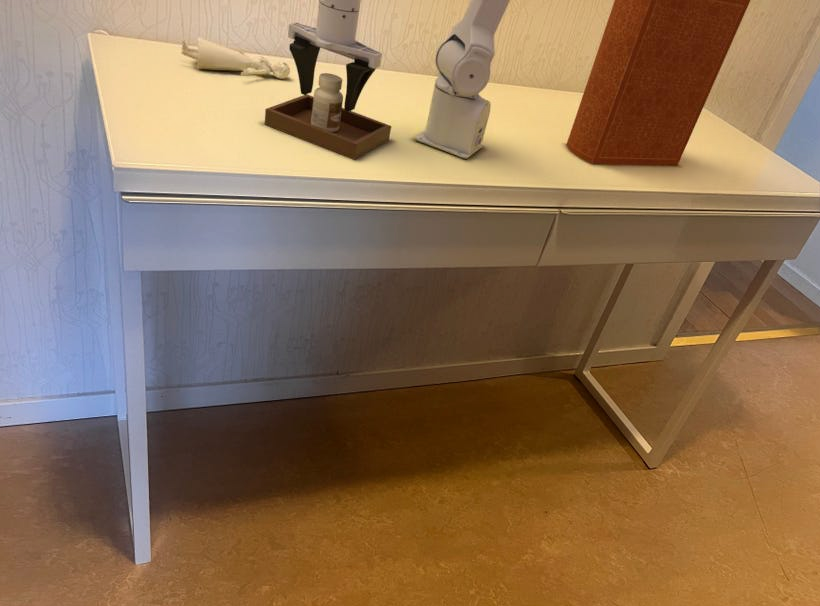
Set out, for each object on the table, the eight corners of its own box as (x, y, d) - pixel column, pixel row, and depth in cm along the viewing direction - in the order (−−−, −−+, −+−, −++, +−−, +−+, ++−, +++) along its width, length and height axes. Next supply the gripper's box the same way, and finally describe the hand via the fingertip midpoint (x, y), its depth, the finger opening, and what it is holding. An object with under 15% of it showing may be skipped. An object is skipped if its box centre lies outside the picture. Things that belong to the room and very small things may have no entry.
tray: (389, 140, 111) (391, 125, 110) (354, 159, 102) (356, 144, 101) (305, 108, 114) (306, 93, 113) (264, 124, 105) (265, 108, 104)
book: (650, 148, 140) (717, -15, 123) (677, 165, 135) (751, -2, 117) (561, 144, 129) (620, -35, 112) (587, 164, 124) (653, -21, 106)
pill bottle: (333, 135, 107) (340, 84, 102) (306, 127, 107) (311, 76, 102) (342, 127, 110) (349, 77, 106) (316, 119, 110) (322, 69, 106)
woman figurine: (183, 25, 119) (289, 49, 126) (181, 51, 122) (285, 74, 129) (181, 45, 111) (294, 70, 118) (179, 73, 113) (290, 96, 120)
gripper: (279, -8, 96) (272, 90, 104) (371, 24, 94) (356, 122, 102) (306, -12, 102) (297, 82, 110) (394, 19, 99) (378, 112, 107)
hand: (327, 101), depth 106 cm, fingers open, 7 cm apart
